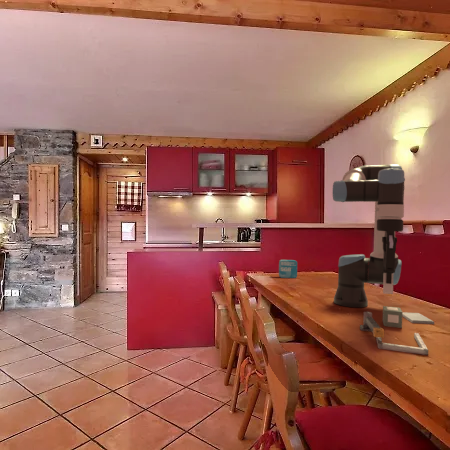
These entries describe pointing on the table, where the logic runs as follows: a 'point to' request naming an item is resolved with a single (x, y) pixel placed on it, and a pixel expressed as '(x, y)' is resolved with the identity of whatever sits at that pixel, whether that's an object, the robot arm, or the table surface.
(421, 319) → the hard drive
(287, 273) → the data package
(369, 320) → the cable arm
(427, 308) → the table surface
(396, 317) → the panel
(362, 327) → the post
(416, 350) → the frame
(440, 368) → the table surface
